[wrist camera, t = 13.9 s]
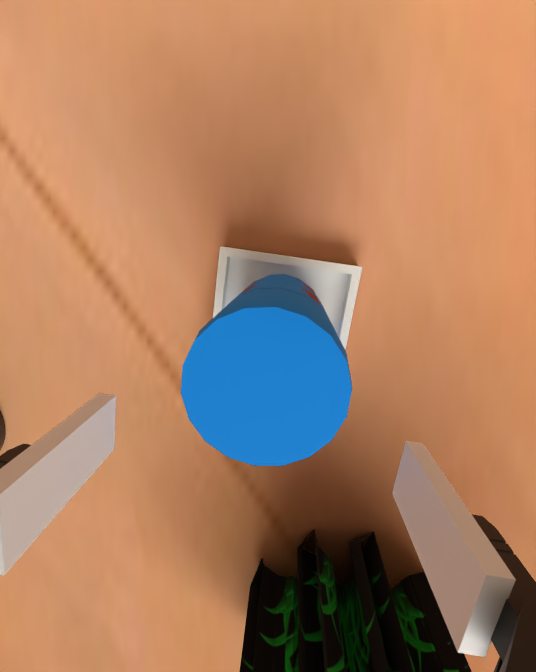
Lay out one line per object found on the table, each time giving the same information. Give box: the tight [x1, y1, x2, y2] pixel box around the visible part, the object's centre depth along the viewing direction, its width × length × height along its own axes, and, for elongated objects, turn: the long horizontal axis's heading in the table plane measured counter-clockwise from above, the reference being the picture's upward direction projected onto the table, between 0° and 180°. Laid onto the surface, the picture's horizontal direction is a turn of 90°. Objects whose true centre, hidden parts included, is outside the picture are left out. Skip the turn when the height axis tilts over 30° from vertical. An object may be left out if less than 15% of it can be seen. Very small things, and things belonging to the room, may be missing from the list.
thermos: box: [181, 274, 352, 466], centre depth 34 cm, size 11×11×25 cm
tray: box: [213, 247, 362, 350], centre depth 45 cm, size 17×15×3 cm
